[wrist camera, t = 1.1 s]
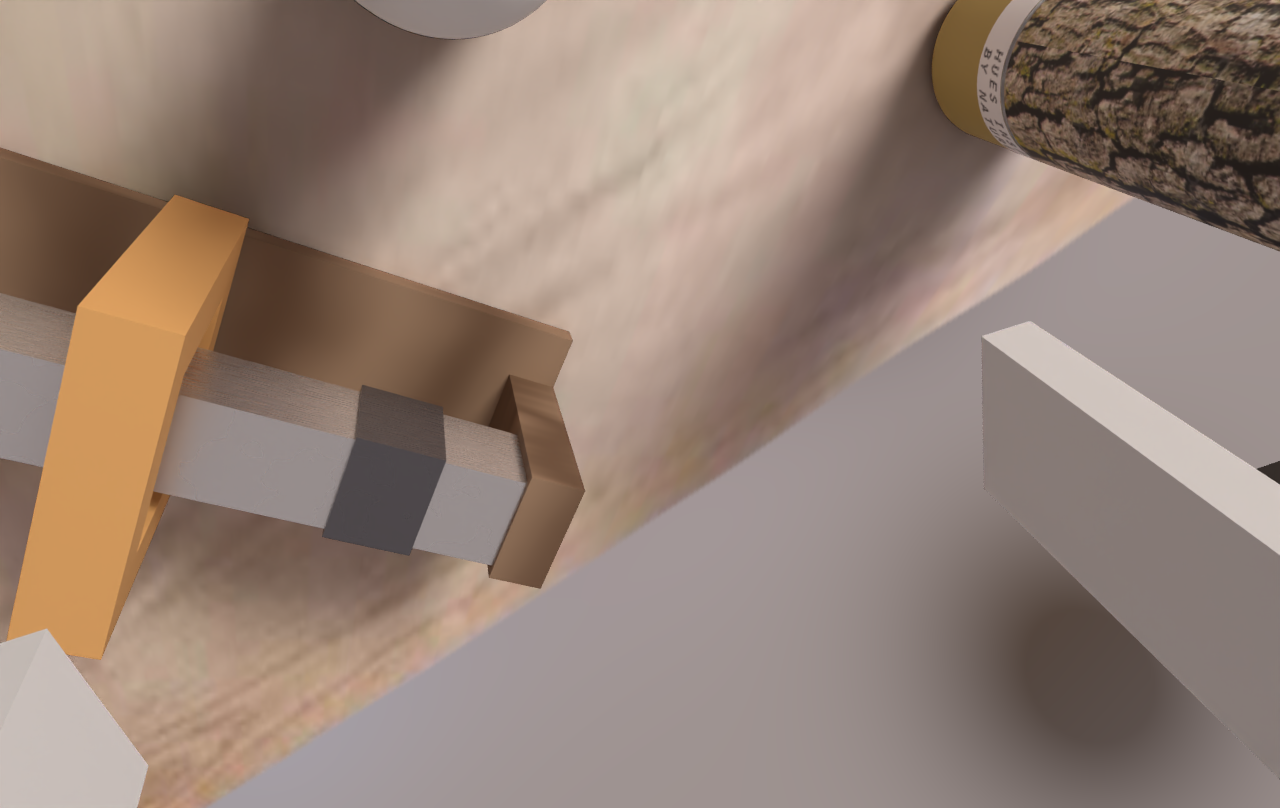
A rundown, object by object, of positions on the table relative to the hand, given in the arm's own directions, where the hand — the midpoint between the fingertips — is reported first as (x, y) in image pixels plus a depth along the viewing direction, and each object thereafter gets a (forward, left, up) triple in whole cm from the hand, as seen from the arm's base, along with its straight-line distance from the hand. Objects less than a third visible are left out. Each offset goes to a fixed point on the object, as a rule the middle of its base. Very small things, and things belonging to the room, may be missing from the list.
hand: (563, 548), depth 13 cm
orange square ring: (-8, -10, -25) cm, 28 cm away
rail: (-6, -10, -21) cm, 24 cm away
